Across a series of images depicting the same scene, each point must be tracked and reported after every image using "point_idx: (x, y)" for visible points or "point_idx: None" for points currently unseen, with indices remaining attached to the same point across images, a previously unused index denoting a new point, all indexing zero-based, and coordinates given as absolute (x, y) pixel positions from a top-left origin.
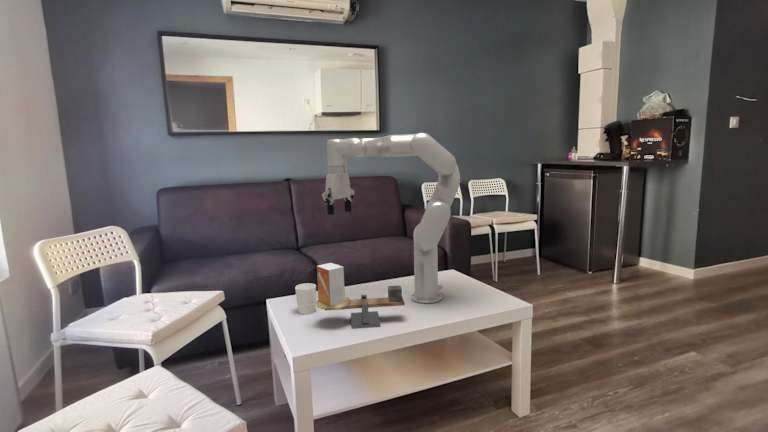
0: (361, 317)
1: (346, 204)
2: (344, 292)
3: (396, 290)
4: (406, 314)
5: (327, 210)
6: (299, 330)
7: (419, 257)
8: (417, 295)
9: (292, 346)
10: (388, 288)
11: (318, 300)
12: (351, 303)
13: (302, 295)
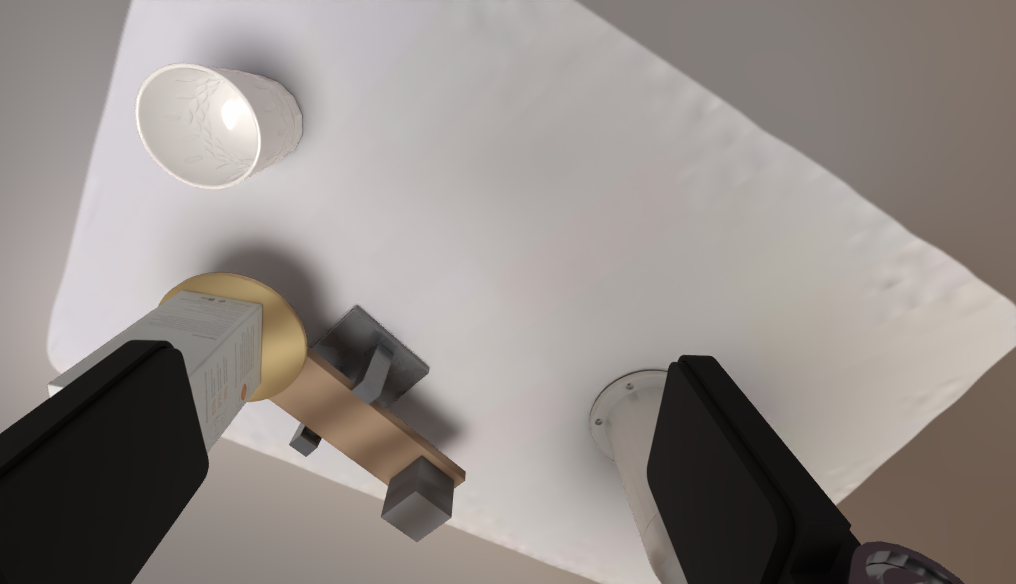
0: (349, 364)
1: (728, 522)
2: (239, 409)
3: (402, 528)
4: (480, 437)
5: (72, 382)
6: (133, 246)
7: (657, 563)
8: (610, 419)
9: (57, 319)
10: (397, 503)
11: (180, 291)
12: (287, 390)
13: (174, 152)
